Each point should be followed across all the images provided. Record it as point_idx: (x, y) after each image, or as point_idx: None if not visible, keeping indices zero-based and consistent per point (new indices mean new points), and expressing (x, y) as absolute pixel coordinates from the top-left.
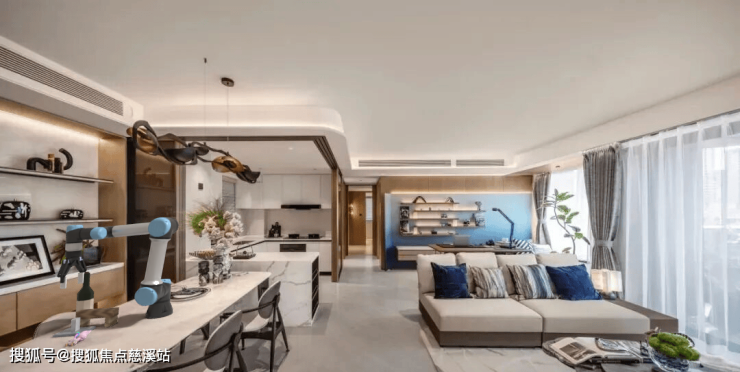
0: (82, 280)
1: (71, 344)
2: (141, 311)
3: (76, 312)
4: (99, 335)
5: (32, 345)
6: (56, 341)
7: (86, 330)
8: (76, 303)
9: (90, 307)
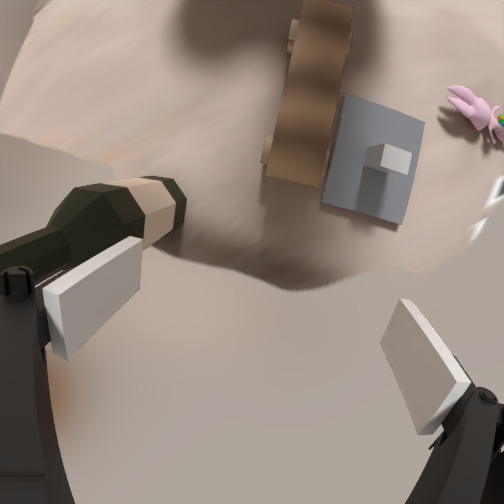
0: (126, 251)
1: None
2: (143, 11)
3: (318, 184)
4: (443, 67)
5: (450, 252)
6: (450, 190)
7: (398, 113)
8: None
9: (146, 182)
